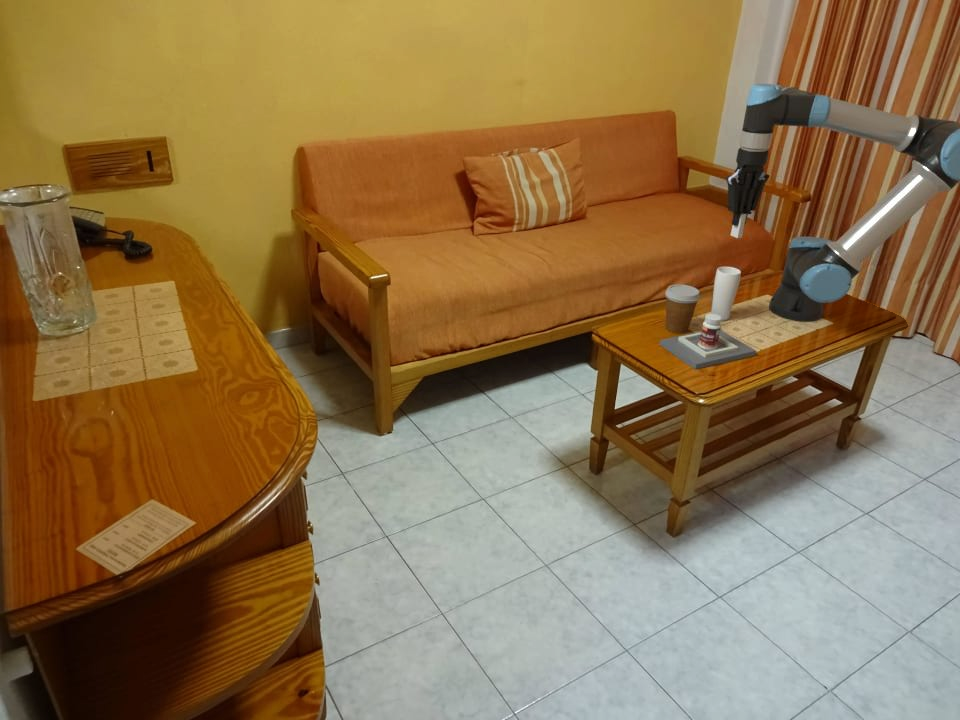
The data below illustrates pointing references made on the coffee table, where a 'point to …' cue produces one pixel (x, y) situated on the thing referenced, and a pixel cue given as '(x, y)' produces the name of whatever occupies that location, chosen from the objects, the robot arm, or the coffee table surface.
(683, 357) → the socket plate
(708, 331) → the pill bottle
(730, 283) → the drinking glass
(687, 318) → the disposable coffee cup
